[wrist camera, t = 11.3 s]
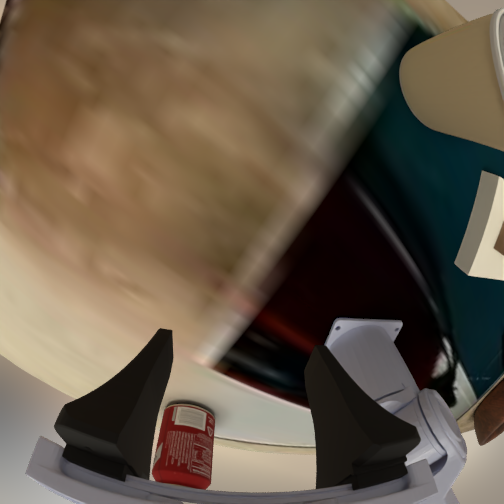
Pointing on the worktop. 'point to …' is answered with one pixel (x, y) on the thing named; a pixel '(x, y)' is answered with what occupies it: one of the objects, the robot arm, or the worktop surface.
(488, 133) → the coffee cup
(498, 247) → the walnut brick
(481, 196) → the base brick
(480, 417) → the wooden bowl
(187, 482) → the soda can
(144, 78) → the worktop surface
